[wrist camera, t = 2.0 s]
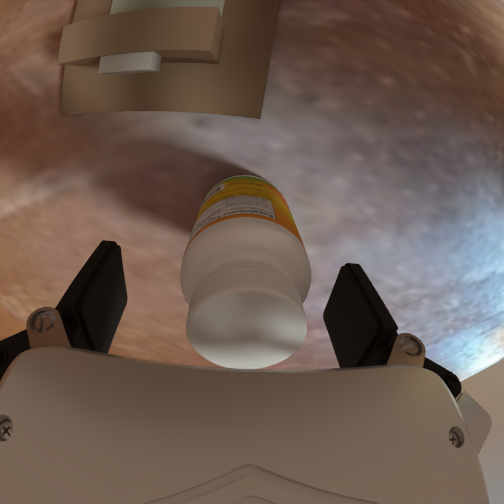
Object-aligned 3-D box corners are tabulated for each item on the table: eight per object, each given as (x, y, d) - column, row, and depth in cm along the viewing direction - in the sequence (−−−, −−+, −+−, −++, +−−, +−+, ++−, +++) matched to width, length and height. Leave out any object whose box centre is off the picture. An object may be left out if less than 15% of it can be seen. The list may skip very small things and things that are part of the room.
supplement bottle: (284, 252, 18) (314, 376, 10) (204, 252, 18) (180, 378, 10) (290, 173, 16) (344, 267, 7) (198, 173, 15) (148, 269, 7)
